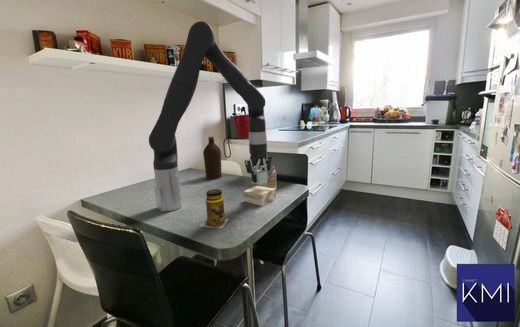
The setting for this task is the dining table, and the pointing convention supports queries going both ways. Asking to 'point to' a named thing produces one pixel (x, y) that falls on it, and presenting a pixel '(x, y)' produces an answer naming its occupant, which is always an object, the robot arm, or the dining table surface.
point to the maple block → (259, 195)
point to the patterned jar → (270, 178)
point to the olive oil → (212, 160)
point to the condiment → (214, 210)
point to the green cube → (261, 177)
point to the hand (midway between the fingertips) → (259, 181)
